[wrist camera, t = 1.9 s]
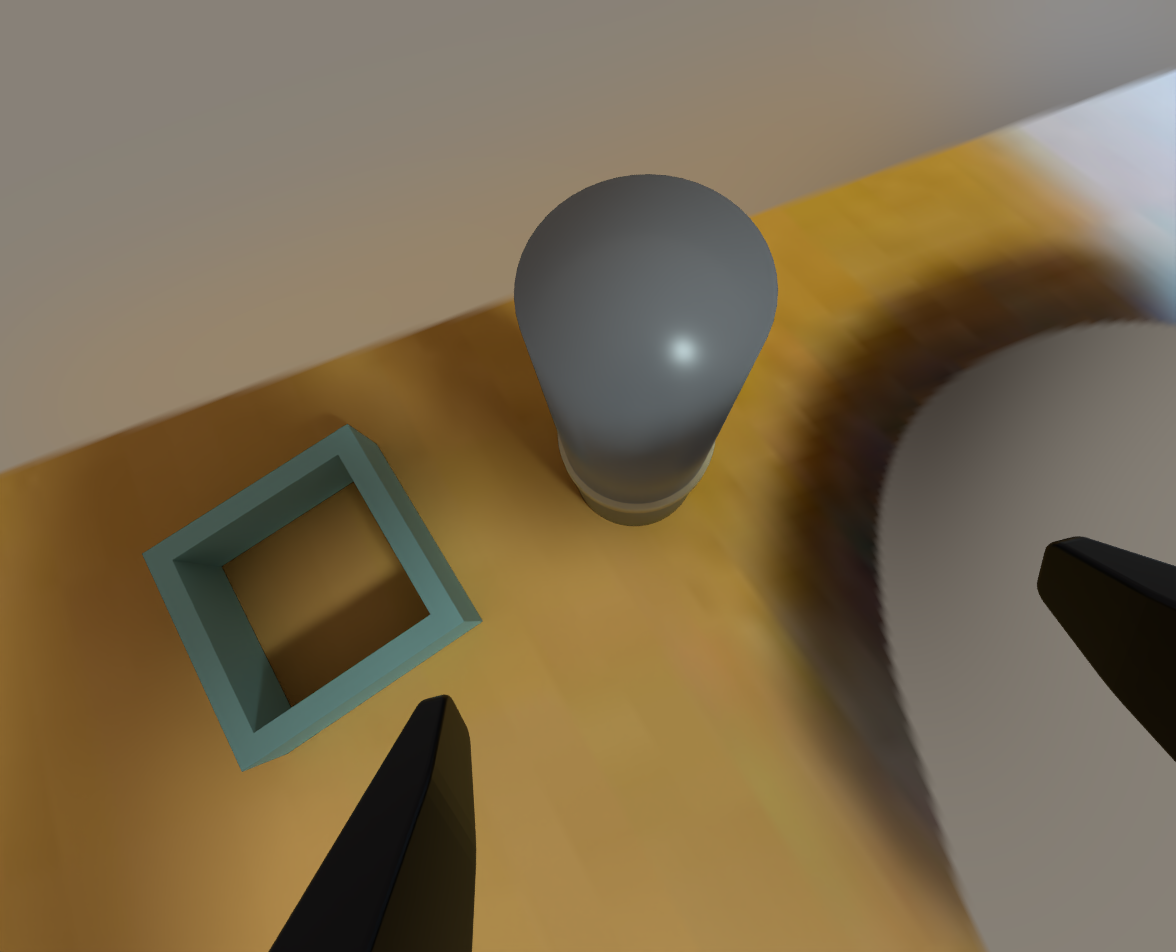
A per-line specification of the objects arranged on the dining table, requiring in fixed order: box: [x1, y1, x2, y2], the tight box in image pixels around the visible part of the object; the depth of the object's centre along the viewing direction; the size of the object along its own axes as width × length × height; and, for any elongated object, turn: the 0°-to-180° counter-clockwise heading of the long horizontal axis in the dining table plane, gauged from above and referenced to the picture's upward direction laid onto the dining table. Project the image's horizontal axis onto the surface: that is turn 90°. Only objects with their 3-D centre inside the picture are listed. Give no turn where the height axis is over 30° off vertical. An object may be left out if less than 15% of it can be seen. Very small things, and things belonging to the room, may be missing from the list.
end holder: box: [142, 424, 482, 772], centre depth 21 cm, size 8×8×2 cm
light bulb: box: [514, 174, 778, 526], centre depth 16 cm, size 5×5×12 cm
